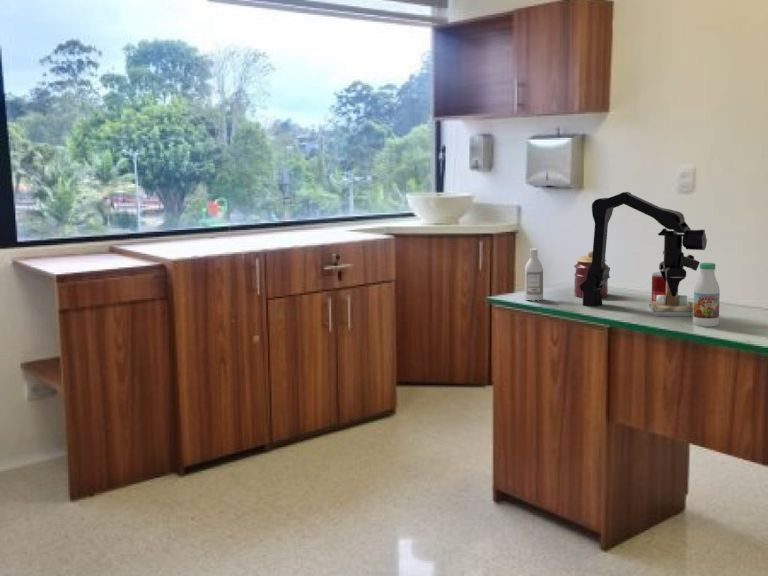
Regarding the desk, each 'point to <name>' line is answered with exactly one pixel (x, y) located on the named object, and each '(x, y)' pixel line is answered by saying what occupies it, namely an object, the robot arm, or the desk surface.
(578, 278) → the canister
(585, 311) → the desk surface
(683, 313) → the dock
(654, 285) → the canned food
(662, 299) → the white short cylinder
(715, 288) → the milk bottle
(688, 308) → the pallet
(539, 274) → the bath foam
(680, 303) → the grey-green round cylinder
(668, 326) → the desk surface
